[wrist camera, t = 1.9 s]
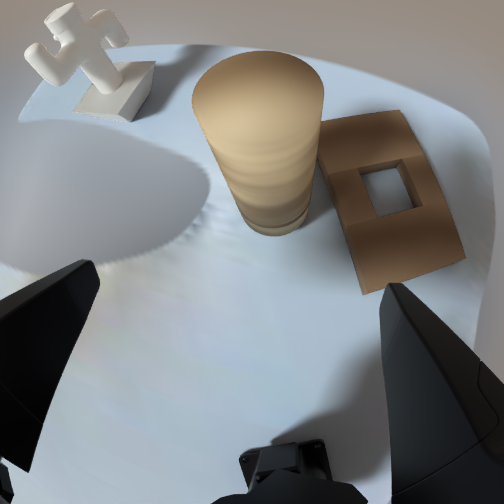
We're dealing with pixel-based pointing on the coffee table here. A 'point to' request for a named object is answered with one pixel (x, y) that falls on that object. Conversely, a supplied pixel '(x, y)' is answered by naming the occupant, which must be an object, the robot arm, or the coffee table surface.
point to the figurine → (93, 63)
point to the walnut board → (394, 225)
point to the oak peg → (263, 134)
